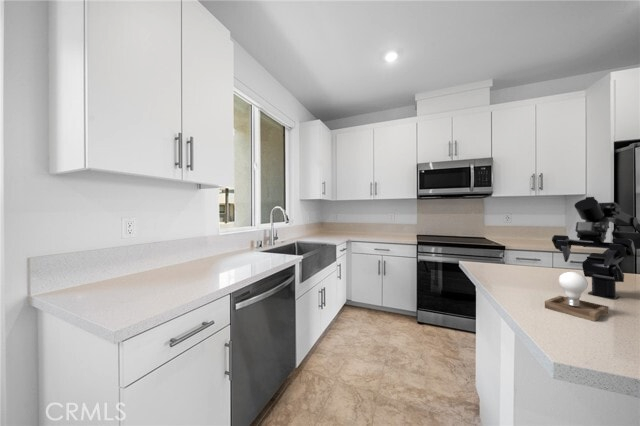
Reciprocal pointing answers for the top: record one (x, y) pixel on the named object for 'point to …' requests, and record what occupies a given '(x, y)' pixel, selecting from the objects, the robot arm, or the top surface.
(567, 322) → the top surface
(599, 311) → the walnut tray
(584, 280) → the lightbulb
